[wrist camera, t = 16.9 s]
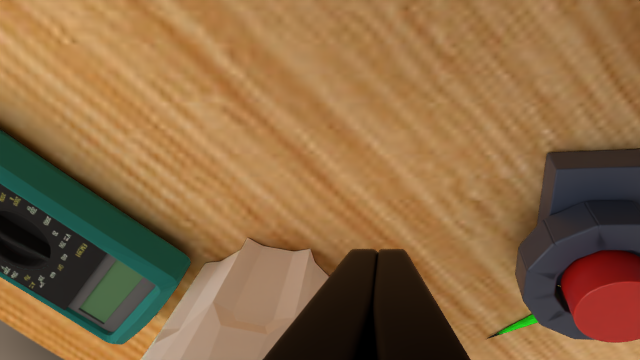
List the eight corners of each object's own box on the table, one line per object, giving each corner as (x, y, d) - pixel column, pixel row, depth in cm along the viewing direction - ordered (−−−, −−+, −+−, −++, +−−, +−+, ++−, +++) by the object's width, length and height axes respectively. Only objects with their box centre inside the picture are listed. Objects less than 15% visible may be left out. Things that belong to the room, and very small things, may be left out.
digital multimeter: (-65, 74, 21) (-128, 97, 19) (201, 254, 24) (178, 294, 22) (-93, 172, 25) (-149, 202, 22) (142, 317, 28) (117, 358, 26)
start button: (659, 248, 17) (683, 281, 16) (639, 309, 19) (659, 344, 17) (566, 248, 18) (581, 280, 16) (555, 307, 19) (567, 341, 18)
